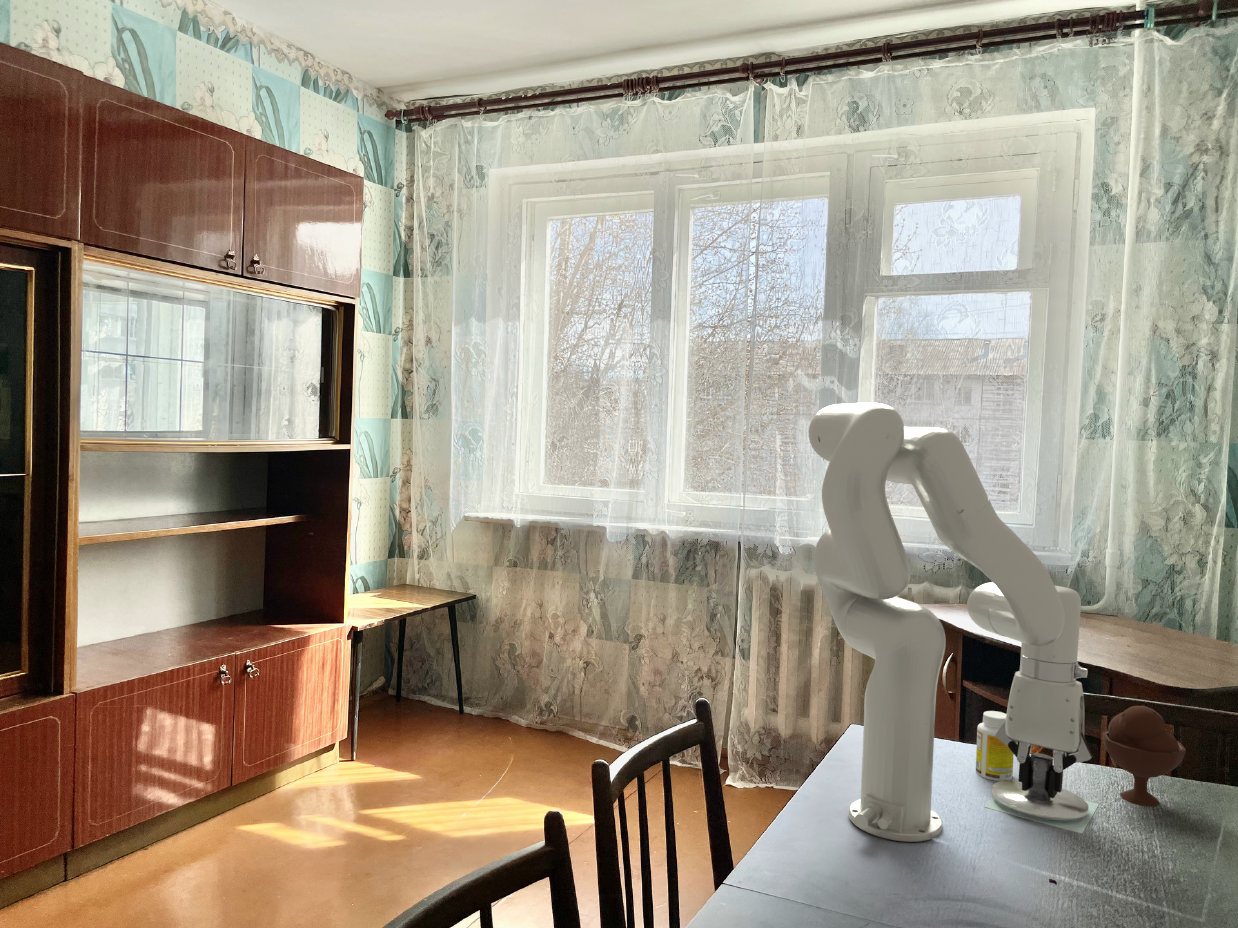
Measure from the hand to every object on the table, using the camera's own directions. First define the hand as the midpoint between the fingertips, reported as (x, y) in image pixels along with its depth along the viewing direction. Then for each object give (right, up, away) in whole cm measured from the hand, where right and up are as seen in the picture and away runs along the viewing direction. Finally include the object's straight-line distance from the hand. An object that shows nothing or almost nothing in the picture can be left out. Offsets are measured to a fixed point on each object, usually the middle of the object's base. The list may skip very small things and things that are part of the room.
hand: (1039, 790), depth 131 cm
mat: (+1, -3, 0) cm, 3 cm away
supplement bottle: (-2, -2, +12) cm, 12 cm away
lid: (0, -2, 0) cm, 2 cm away
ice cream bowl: (+17, -3, +4) cm, 18 cm away
